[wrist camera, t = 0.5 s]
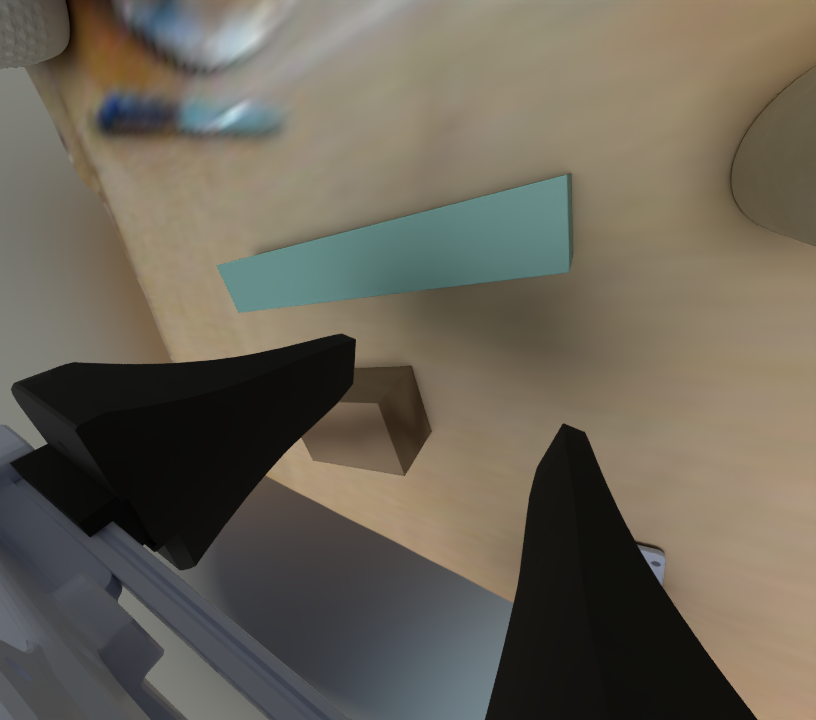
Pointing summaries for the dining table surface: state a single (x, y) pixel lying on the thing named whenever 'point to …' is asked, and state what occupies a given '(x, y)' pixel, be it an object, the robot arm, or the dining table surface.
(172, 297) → the dining table surface
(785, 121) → the candle
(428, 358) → the dining table surface
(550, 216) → the teal rectangular bar
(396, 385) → the block
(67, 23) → the mug
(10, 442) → the robot arm
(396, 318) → the dining table surface
